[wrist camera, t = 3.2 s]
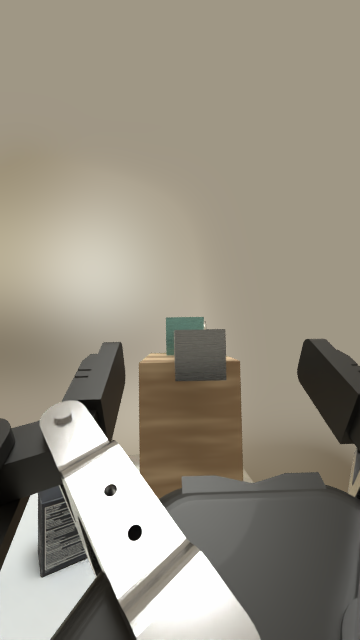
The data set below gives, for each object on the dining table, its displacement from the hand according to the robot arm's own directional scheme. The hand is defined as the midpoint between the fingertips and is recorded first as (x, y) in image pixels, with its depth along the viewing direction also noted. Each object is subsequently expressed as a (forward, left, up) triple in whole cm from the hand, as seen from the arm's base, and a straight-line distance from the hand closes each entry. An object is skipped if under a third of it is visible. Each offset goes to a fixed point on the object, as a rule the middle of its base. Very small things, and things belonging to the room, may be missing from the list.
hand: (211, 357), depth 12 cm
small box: (+24, +31, -34) cm, 52 cm away
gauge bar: (+15, +7, -2) cm, 17 cm away
